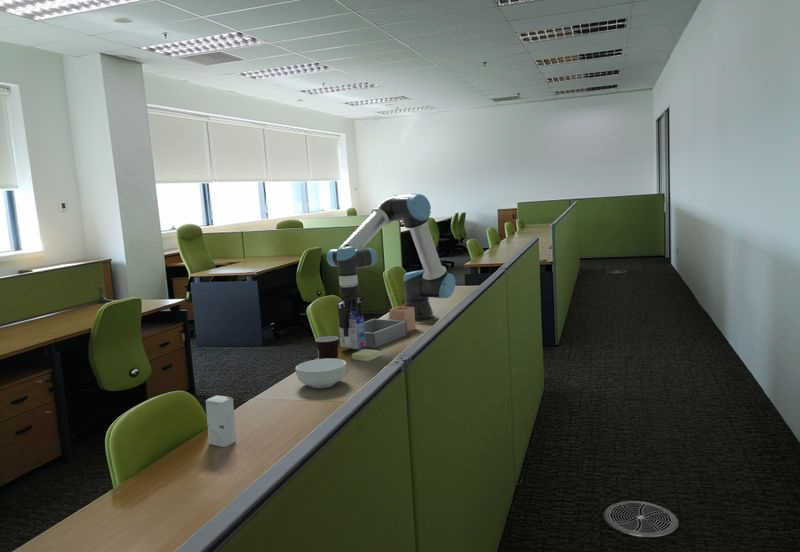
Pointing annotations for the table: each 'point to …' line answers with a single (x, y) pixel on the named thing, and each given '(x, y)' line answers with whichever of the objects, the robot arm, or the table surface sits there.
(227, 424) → the skincare box
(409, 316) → the pen holder
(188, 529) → the table surface
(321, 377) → the cereal bowl
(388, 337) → the grey bin
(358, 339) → the ink cartridge box
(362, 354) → the sticky note pad
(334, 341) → the coffee mug
